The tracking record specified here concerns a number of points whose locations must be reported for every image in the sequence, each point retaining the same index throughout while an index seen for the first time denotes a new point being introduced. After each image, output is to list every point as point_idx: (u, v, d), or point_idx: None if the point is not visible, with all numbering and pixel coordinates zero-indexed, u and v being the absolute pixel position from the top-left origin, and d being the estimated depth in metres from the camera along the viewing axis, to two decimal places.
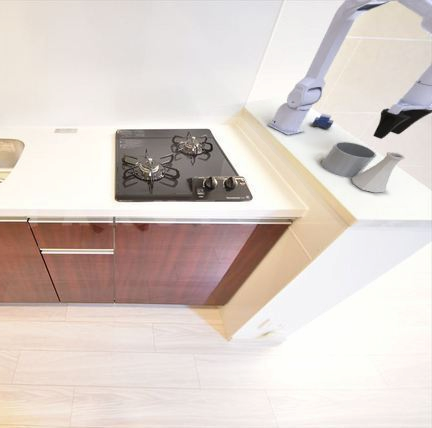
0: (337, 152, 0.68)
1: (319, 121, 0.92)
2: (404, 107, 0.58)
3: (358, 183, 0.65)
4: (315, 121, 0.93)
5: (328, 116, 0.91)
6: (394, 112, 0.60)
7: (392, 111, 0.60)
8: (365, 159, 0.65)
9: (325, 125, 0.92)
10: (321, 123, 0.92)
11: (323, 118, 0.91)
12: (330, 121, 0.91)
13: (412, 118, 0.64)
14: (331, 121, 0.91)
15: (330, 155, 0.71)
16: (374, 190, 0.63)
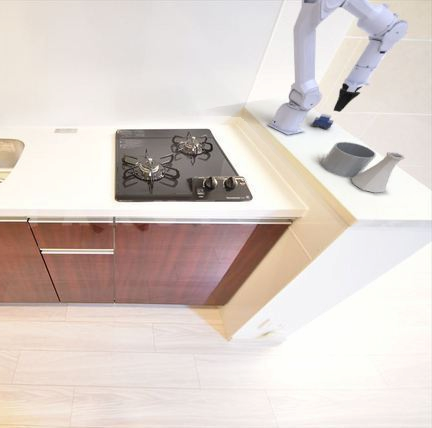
0: (337, 152, 0.68)
1: (319, 121, 0.92)
2: (358, 86, 0.76)
3: (358, 183, 0.65)
4: (315, 121, 0.93)
5: (328, 116, 0.91)
6: (351, 90, 0.77)
7: (350, 90, 0.77)
8: (365, 159, 0.65)
9: (325, 125, 0.92)
10: (321, 123, 0.92)
11: (323, 118, 0.91)
12: (330, 121, 0.91)
13: None
14: (331, 121, 0.91)
15: (330, 155, 0.71)
16: (374, 190, 0.63)
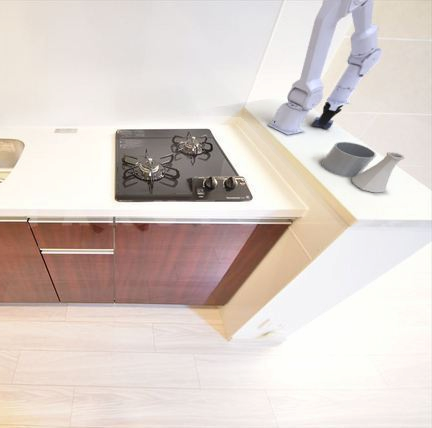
0: (337, 152, 0.68)
1: None
2: (338, 105, 0.83)
3: (358, 183, 0.65)
4: (315, 121, 0.93)
5: None
6: (333, 109, 0.84)
7: (332, 109, 0.84)
8: (365, 159, 0.65)
9: (325, 125, 0.92)
10: None
11: None
12: (330, 121, 0.91)
13: None
14: (331, 121, 0.91)
15: (330, 155, 0.71)
16: (374, 190, 0.63)
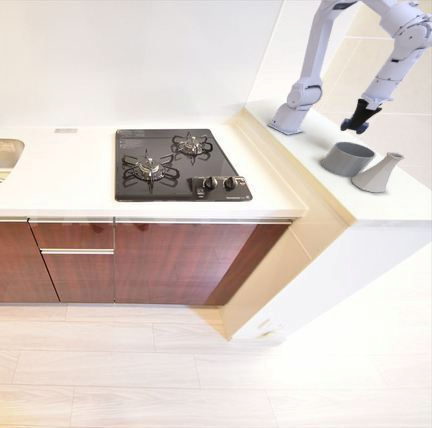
0: (337, 152, 0.68)
1: None
2: (380, 102, 0.62)
3: (358, 183, 0.65)
4: (344, 124, 0.72)
5: None
6: (372, 108, 0.63)
7: (371, 107, 0.63)
8: (365, 159, 0.65)
9: (358, 129, 0.71)
10: None
11: None
12: (365, 124, 0.70)
13: None
14: (366, 124, 0.70)
15: (330, 155, 0.71)
16: (374, 190, 0.63)
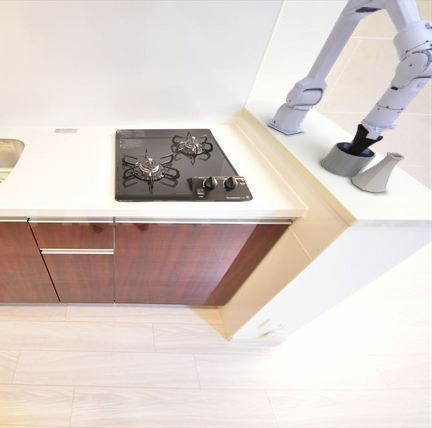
0: (337, 152, 0.68)
1: None
2: (381, 132, 0.59)
3: (358, 183, 0.65)
4: (344, 150, 0.69)
5: None
6: (373, 137, 0.60)
7: (371, 137, 0.60)
8: (365, 159, 0.65)
9: (358, 156, 0.67)
10: None
11: None
12: (365, 151, 0.67)
13: None
14: (366, 151, 0.67)
15: (330, 155, 0.71)
16: (374, 190, 0.63)
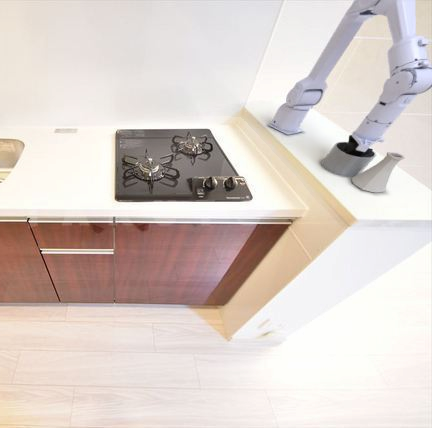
0: (337, 152, 0.68)
1: None
2: (370, 145, 0.61)
3: (358, 183, 0.65)
4: None
5: None
6: (362, 150, 0.62)
7: (361, 149, 0.62)
8: (365, 159, 0.65)
9: None
10: None
11: None
12: None
13: None
14: None
15: (330, 155, 0.71)
16: (374, 190, 0.63)
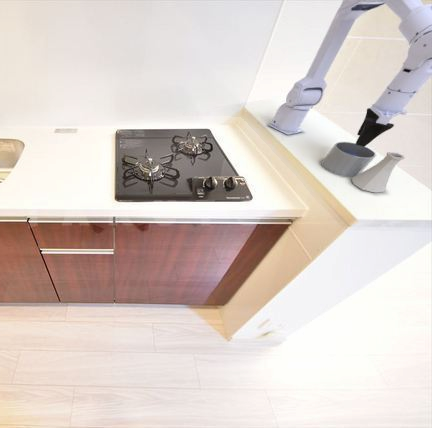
0: (337, 152, 0.68)
1: None
2: (392, 117, 0.57)
3: (358, 183, 0.65)
4: None
5: (353, 155, 0.69)
6: (383, 122, 0.58)
7: (381, 122, 0.57)
8: (365, 159, 0.65)
9: None
10: None
11: None
12: None
13: None
14: None
15: (330, 155, 0.71)
16: (374, 190, 0.63)
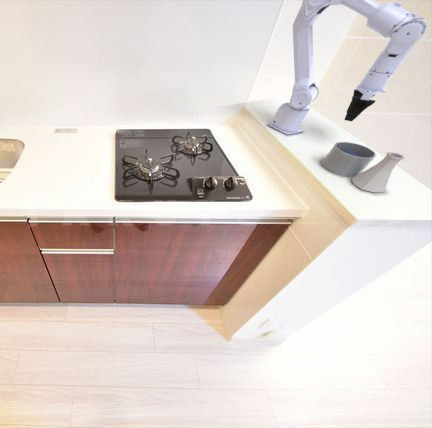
0: (337, 152, 0.68)
1: None
2: (373, 93, 0.68)
3: (358, 183, 0.65)
4: None
5: (353, 155, 0.69)
6: (366, 99, 0.69)
7: (365, 98, 0.69)
8: (365, 159, 0.65)
9: None
10: None
11: None
12: None
13: None
14: None
15: (330, 155, 0.71)
16: (374, 190, 0.63)
